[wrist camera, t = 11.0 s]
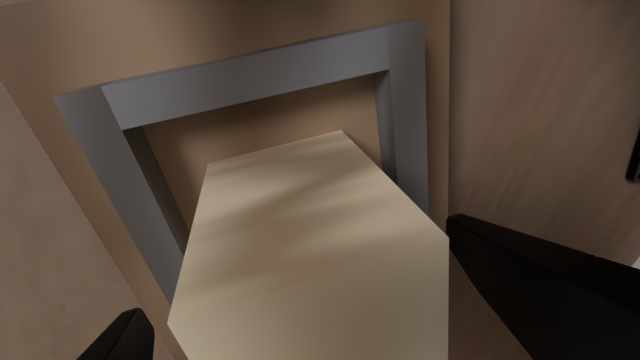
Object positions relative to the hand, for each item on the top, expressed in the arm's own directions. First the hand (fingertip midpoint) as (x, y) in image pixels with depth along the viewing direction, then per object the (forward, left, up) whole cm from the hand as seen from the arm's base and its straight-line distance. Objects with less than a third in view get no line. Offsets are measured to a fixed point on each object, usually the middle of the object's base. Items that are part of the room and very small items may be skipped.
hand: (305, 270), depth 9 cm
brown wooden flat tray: (0, 0, -7) cm, 7 cm away
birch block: (0, 0, -4) cm, 4 cm away
